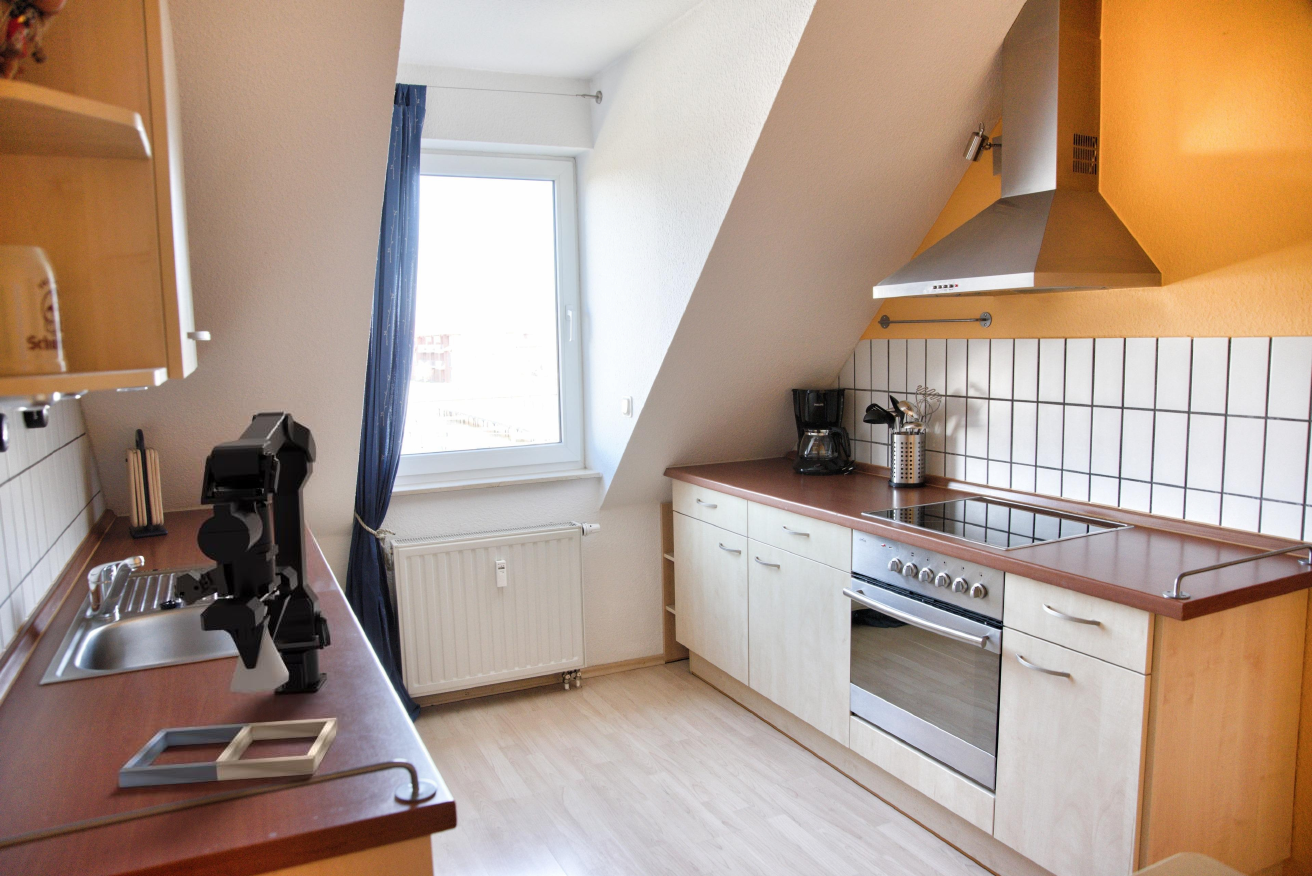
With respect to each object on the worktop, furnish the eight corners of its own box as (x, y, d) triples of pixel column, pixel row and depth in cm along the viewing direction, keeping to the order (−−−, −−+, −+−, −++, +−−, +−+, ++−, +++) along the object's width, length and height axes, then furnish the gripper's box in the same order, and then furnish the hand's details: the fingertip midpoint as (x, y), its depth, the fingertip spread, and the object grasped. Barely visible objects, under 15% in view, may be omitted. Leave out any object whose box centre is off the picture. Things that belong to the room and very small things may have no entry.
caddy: (163, 743, 121) (162, 728, 121) (337, 731, 123) (336, 717, 123) (119, 787, 109) (118, 772, 109) (313, 774, 111) (312, 758, 111)
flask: (298, 672, 119) (292, 599, 118) (277, 694, 112) (271, 617, 111) (243, 674, 119) (237, 601, 118) (219, 696, 112) (212, 619, 110)
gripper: (209, 529, 121) (219, 640, 123) (148, 565, 103) (160, 694, 105) (294, 525, 123) (302, 635, 125) (248, 559, 104) (259, 687, 106)
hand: (257, 660), depth 115 cm, fingers closed on flask, 5 cm apart
